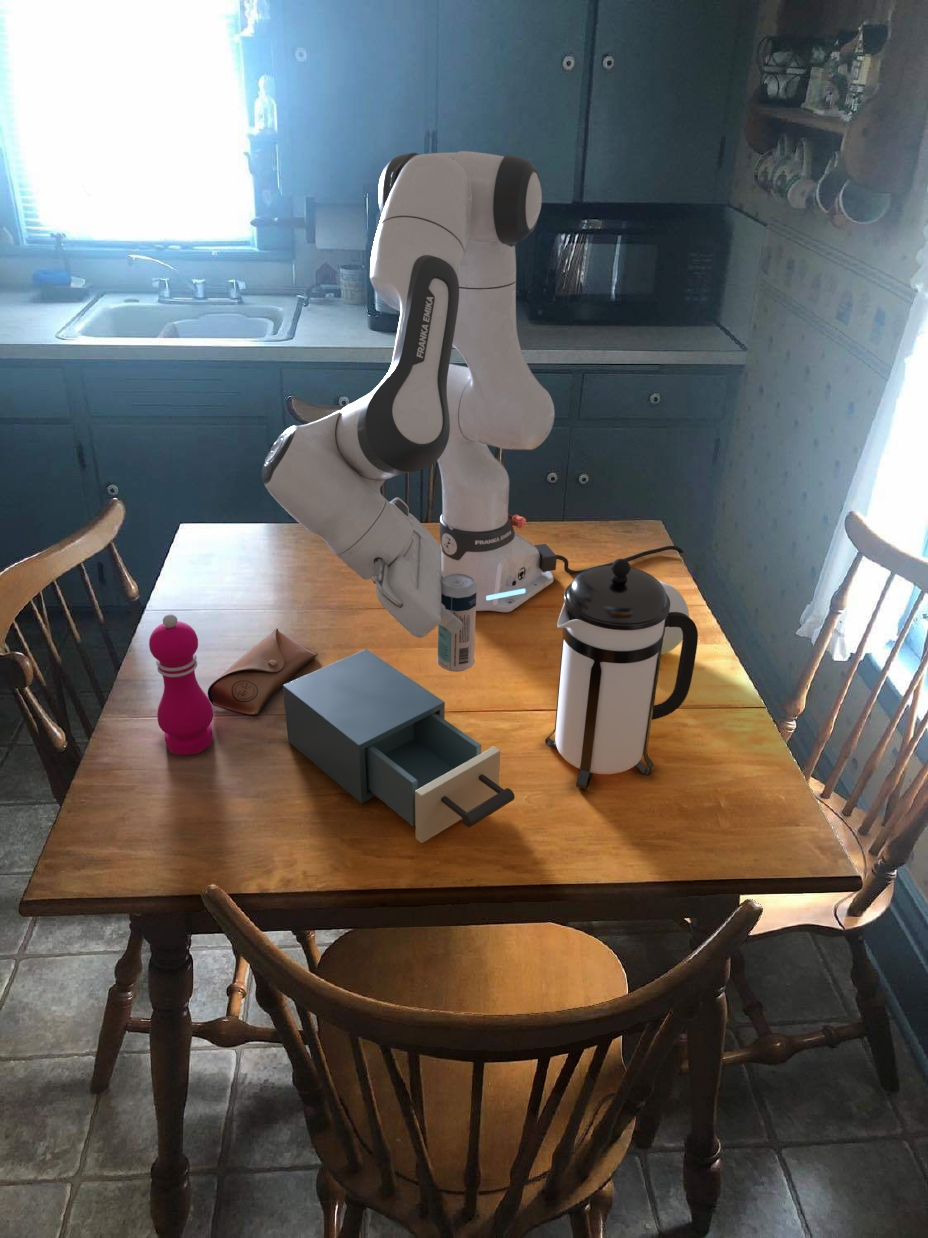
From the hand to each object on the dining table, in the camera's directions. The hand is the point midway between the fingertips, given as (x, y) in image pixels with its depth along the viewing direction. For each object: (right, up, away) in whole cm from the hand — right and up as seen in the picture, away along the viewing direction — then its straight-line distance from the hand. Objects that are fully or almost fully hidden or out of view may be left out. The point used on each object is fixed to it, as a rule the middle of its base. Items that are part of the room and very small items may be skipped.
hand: (458, 615), depth 117 cm
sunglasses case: (-29, -10, +25) cm, 40 cm away
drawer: (-3, -23, +2) cm, 23 cm away
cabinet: (-13, -18, +11) cm, 25 cm away
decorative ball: (+30, -6, +34) cm, 46 cm away
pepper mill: (-37, -17, +12) cm, 42 cm away
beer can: (0, -6, +4) cm, 7 cm away
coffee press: (+20, -19, +12) cm, 30 cm away
